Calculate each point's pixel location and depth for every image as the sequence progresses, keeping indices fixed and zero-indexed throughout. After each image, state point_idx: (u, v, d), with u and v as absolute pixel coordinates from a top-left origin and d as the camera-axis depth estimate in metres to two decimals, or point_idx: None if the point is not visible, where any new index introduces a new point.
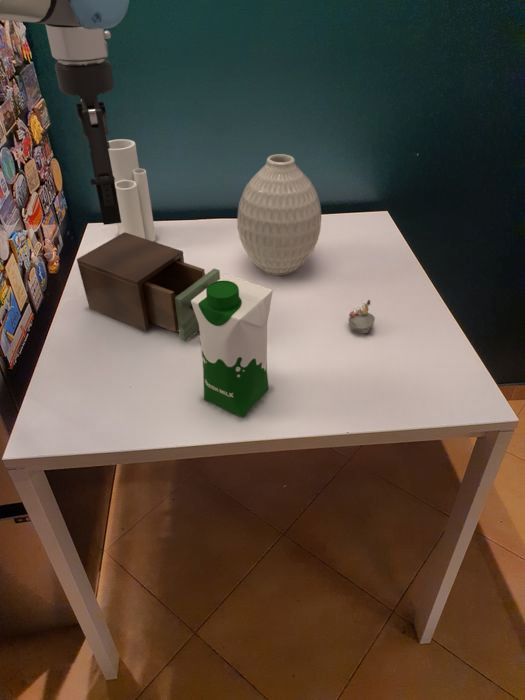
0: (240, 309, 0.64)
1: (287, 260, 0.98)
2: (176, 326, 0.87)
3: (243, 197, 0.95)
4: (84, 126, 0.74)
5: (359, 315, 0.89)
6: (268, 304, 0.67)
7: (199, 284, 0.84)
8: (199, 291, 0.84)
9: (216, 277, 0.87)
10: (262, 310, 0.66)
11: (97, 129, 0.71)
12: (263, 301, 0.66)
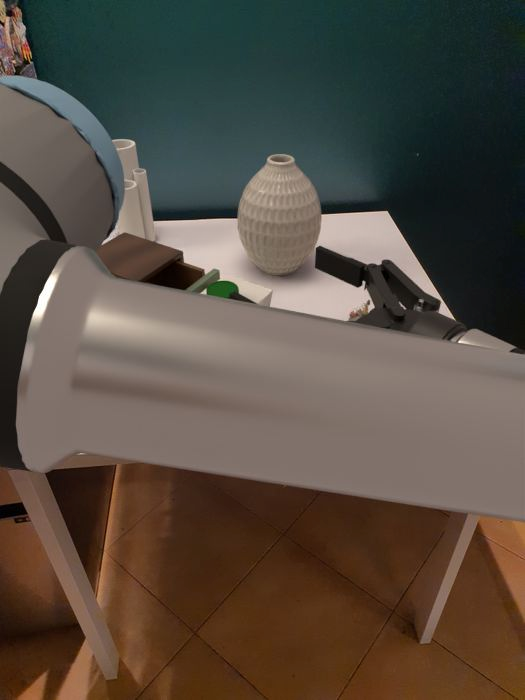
0: None
1: (287, 260, 0.98)
2: None
3: (243, 197, 0.95)
4: None
5: (359, 315, 0.89)
6: (268, 304, 0.67)
7: (199, 284, 0.84)
8: (199, 291, 0.84)
9: (216, 277, 0.87)
10: None
11: None
12: (263, 301, 0.66)
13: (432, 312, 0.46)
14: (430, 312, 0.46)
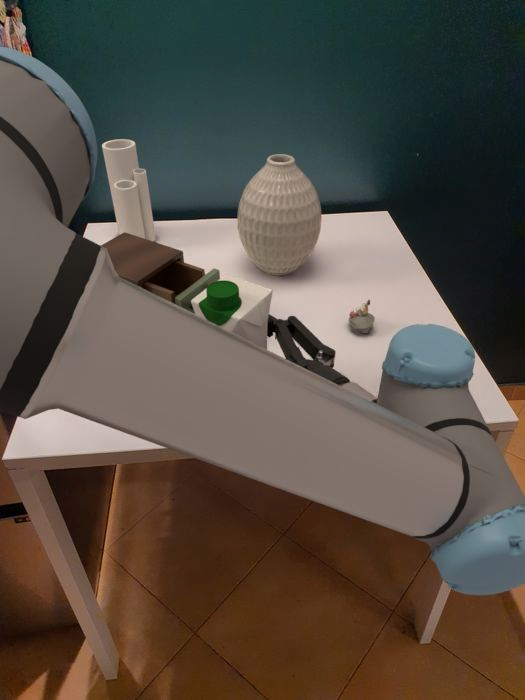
0: (240, 309, 0.64)
1: (287, 260, 0.98)
2: None
3: (243, 197, 0.95)
4: None
5: (359, 315, 0.89)
6: (268, 304, 0.67)
7: (199, 284, 0.84)
8: (199, 291, 0.84)
9: (216, 277, 0.87)
10: (262, 310, 0.66)
11: None
12: (263, 301, 0.66)
13: (322, 367, 0.61)
14: (321, 367, 0.61)
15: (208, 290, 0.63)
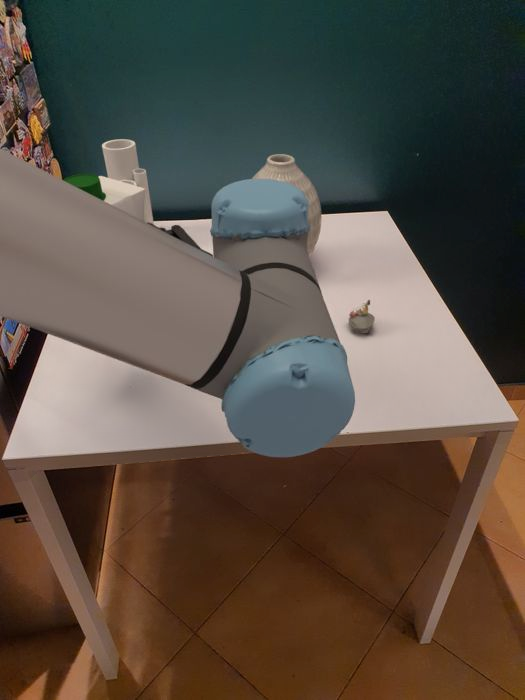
0: None
1: None
2: None
3: None
4: None
5: (359, 315, 0.89)
6: (140, 204, 0.61)
7: None
8: None
9: None
10: (130, 209, 0.59)
11: None
12: (132, 198, 0.59)
13: None
14: None
15: None
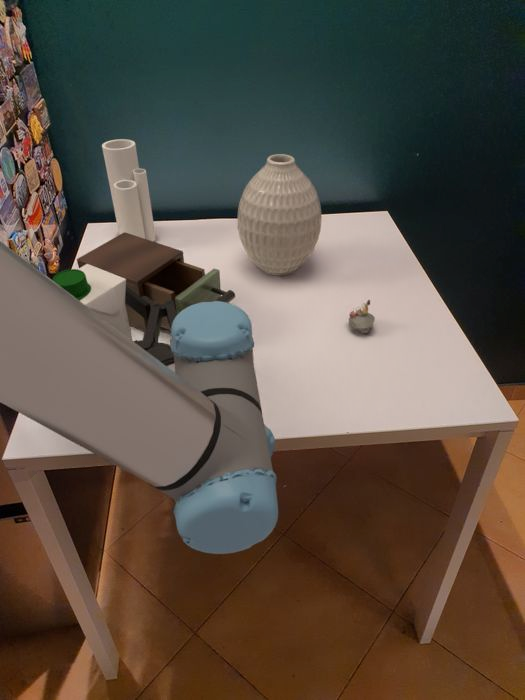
0: (86, 297, 0.66)
1: (287, 260, 0.98)
2: None
3: (243, 197, 0.95)
4: None
5: (359, 315, 0.89)
6: (121, 292, 0.69)
7: (199, 284, 0.84)
8: (199, 291, 0.84)
9: (216, 277, 0.87)
10: (112, 298, 0.68)
11: None
12: (114, 289, 0.68)
13: (158, 348, 0.62)
14: (156, 348, 0.62)
15: (54, 278, 0.65)
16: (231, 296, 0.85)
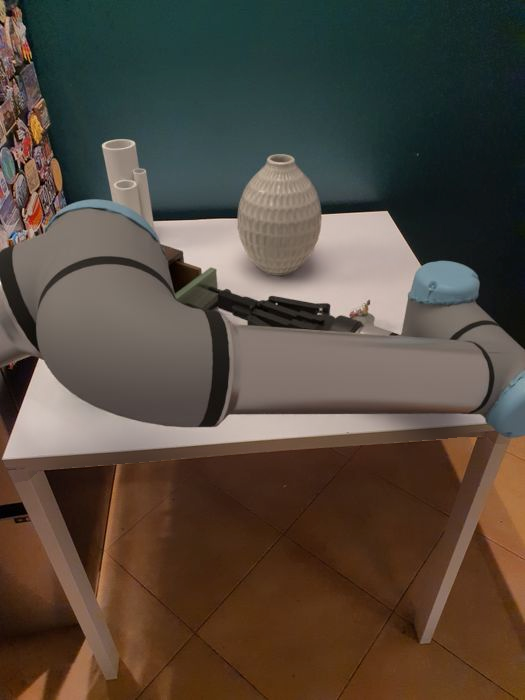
0: None
1: (287, 260, 0.98)
2: None
3: (243, 197, 0.95)
4: (296, 327, 0.76)
5: (359, 315, 0.89)
6: None
7: (196, 283, 0.84)
8: (196, 290, 0.85)
9: (212, 276, 0.88)
10: None
11: None
12: None
13: (341, 316, 0.74)
14: (340, 316, 0.74)
15: None
16: None
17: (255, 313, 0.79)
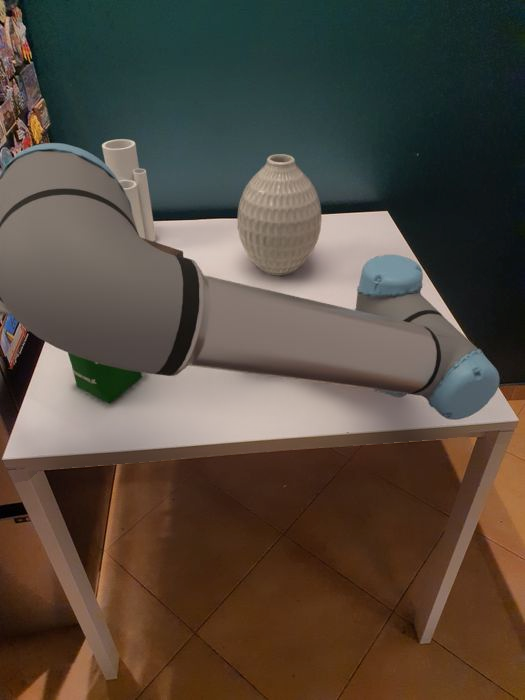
0: None
1: (287, 260, 0.98)
2: None
3: (243, 197, 0.95)
4: None
5: None
6: None
7: None
8: None
9: None
10: None
11: None
12: None
13: None
14: None
15: None
16: None
17: None
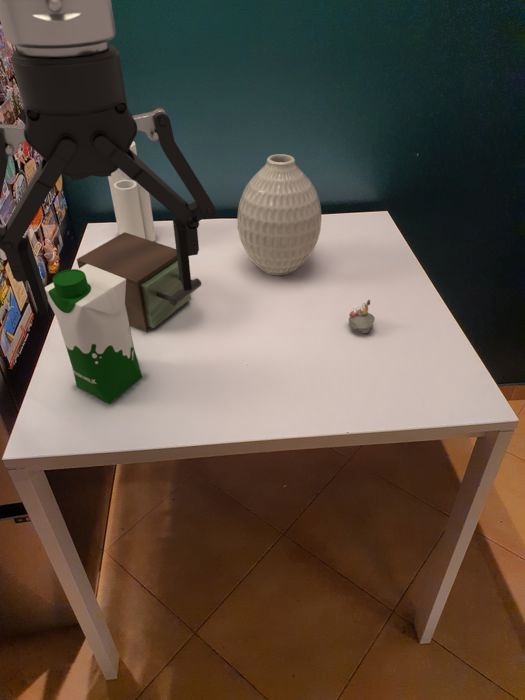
0: (87, 297, 0.66)
1: (287, 260, 0.98)
2: None
3: (243, 197, 0.95)
4: None
5: (359, 315, 0.89)
6: (121, 292, 0.69)
7: (166, 272, 0.87)
8: (166, 279, 0.87)
9: None
10: (112, 298, 0.68)
11: None
12: (114, 289, 0.68)
13: None
14: None
15: (54, 278, 0.65)
16: (197, 284, 0.88)
17: (7, 225, 0.44)
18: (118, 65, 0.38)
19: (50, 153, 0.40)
